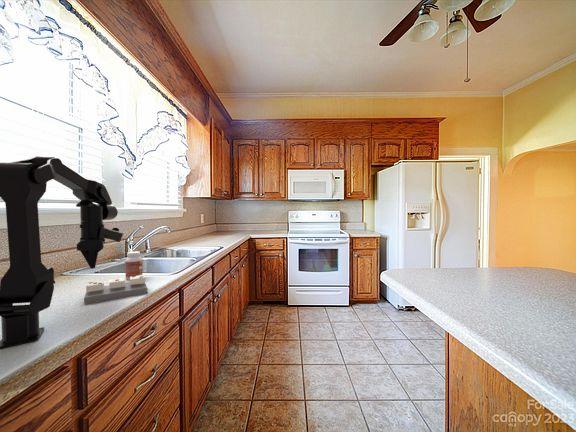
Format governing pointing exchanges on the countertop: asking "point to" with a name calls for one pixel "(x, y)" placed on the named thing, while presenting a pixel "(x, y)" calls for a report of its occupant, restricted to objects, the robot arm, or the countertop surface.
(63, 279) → the countertop surface
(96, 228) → the robot arm
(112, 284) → the one-dot button
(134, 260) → the pill bottle
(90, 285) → the three-dot button
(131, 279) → the two-dot button
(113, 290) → the button panel
